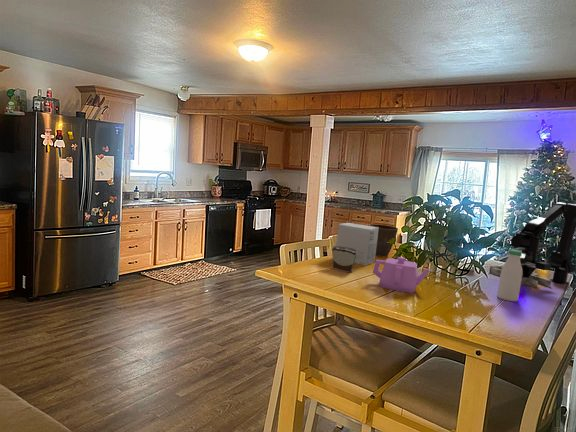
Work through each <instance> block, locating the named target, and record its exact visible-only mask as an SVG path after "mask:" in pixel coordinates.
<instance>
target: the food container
mask: <svg viewBox="0 0 576 432" xmlns="http://www.w3.org/2000/svg"><path fill="white" fill-rule="evenodd" d="M331 251H332V269H334V270H338V271H342V272H345V273H353V270H354V266H355V263H354V262H355V258H356V256H358V253H357V250H356V249H354V248H350V247H343V246H336V245H334V246H332V247H331Z"/></svg>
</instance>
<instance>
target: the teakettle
mask: <svg viewBox="0 0 576 432" xmlns="http://www.w3.org/2000/svg"><path fill="white" fill-rule="evenodd" d="M380 265H383V267H382V270H380ZM430 272H431V269H429V268H425V269H424V270H423V271H422V272H421V273H419V274H418V265H417V262H414V261H409V260H406V257H402V256H397V258H387V259H386V260H383V259H375V262H374V265H373V270H372V273H373V274H374V275H375V276H377V277H378V278H379V286H380V288H383V289H387V290H392V291H397V292H400V293H401V292H402V293H407V294H408V293H409V294H414V292H416V288H417V286H418V285H419V284H420V283H421V282H422V281H423V280H424V279H425V277H426V276H427V275H428V274H429V273H430Z"/></svg>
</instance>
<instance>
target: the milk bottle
mask: <svg viewBox="0 0 576 432" xmlns="http://www.w3.org/2000/svg"><path fill="white" fill-rule="evenodd" d="M521 254H522V250H517V249H509V250H508V257H507V259H506V261H505V262H504V263H503V265H502V266H503V267H502V270H501V274H500V276H499V280H498V285H497V287H498V288H497V292H496V293H497V294H496V296H497V298H499V299H501V300H504V301H508V302H518V300H519V296H520V293H521V292H520V290H521V286H522V285H521V280H522V272H523V271H522V266H521V263H520V257H521Z"/></svg>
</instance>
